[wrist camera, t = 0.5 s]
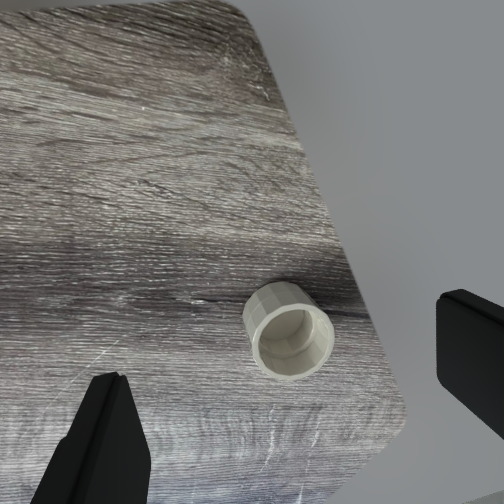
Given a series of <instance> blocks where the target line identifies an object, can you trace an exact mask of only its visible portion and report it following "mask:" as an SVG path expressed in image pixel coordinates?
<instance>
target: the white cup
mask: <svg viewBox="0 0 504 504" xmlns="http://www.w3.org/2000/svg"><path fill="white" fill-rule="evenodd" d="M242 319H243V327H244V331H245V334H246V337H247V340H248V343H249V346H250V349H251V352H252V356H253V358H254V360H255V362H256V363H257V365H258V367H259V368H260V370H261V371H262V372H264V373H265V374H267V375H269V376H270V377H272V378H274V379H278V380H285V381H292V380H297V379H302V378H305V377H307V376H309V375H311V374H312V373H314V372H316V371H317V370H319V369H320V368H321V367H322V365H323V364H324V363H325V362H326V361H327V359H328V358H329V357H330V354H331V351H332V349H333V346H334V342H335V339H334V327H333V325H332V323H331V321H330V319H329V317H328V315H327V314H326V313H325V312H324V311H323V310H322V309H321V308H320V307H319V305H318V304H317V303H316V302H315V301H314V300H313V299H312V298H311V297H310V296H309V294H308V293H307V292H306V291H304V290H303V289H302V288H300V287H299V286H298V285H296V284H293V283H288V282H284V281H283V282H282V281H281V282H275V283H270V284H267V285H265V286H264V287H262V288H260V289H258V290H257V291H256V292H254V294H253V295H252V296H251V297H250V299H249V300H248V301H247V302H246V305H245V308H244V311H243V315H242Z"/></svg>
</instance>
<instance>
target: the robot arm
mask: <svg viewBox="0 0 504 504" xmlns="http://www.w3.org/2000/svg"><path fill="white" fill-rule="evenodd" d="M436 349H437V350H436V351H437V352H436V354H437V356H436V357H437V377H438V380H439V382H440V383H441V384H442V386H443V387H444V388H446V389H447V390H448V391H449V392H450V393H451V394H452V395H453V396H455V397H456V398H457V399H458V400H459V401H460V402H461V403H463V404H464V405H465V406H466V407H467V408H468V409H469V410H470V411H472V412H473V413H474V414H475V415H476V416H477V417H478V418H480V419H481V420H482V421H483V422H484V423H485V424H486V425H488V426H489V427H490V428H491V429H492V430H493V431H494V432H496V433H497V434H498V435H499V436H500V437H501V438H502V439H504V307H501V306H499V305H497V304H495V303H493V302H490V301H488V300H486V299H484V298H482V297H479V296H477V295H475V294H473V293H471V292H469V291H466V290H464V289H458V290H454V291H450V292H445V293H443V294H442V295H441V296H440V299H438V300H437V302H436ZM150 471H151V456H150V451H149V448H148V445H147V442H146V438H145V435H144V432H143V429H142V425H141V422H140V419H139V416H138V412H137V409H136V406H135V403H134V400H133V396H132V393H131V390H130V387H129V383H128V380H127V378H126V376H125V375H122V376H119V374H118V373H117V372H116V371H115V372H111V373H107V374H103V375H99V376H95V377H93V379H92V381H91V383H90V385H89V387H88V389H87V392H86V394H85V396H84V398H83V400H82V403H81V405H80V407H79V409H78V412H77V414H76V416H75V418H74V420H73V423H72V425H71V427H70V429H69V432H68V434H67V436H66V437H64V438H63V439H61V440H60V442H59V444H58V445H57V447H56V449H55V451H54V454H53V456H52V458H51V460H50V462H49V464H48V466H47V469H46V471H45V473H44V475H43V477H42V479H41V481H40V484H39V486H38V488H37V490H36V492H35V494H34V496H33V498H32V501H31V503H30V504H146V503H147V495H148V487H149V479H150ZM463 504H504V490H503V491H500V492H497V493H494V494H491V495H488V496H485V497H482V498H479V499H476V500H473V501H470V502H466V503H463Z"/></svg>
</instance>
